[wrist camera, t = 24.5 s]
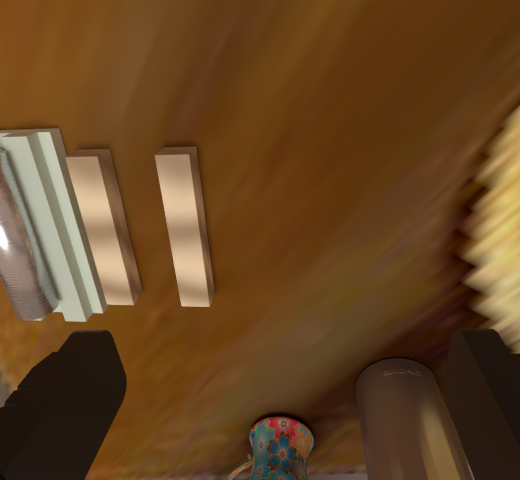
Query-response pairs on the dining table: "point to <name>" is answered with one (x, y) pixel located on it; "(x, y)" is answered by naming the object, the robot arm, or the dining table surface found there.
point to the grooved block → (55, 219)
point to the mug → (278, 450)
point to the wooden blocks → (116, 230)
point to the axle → (21, 253)
